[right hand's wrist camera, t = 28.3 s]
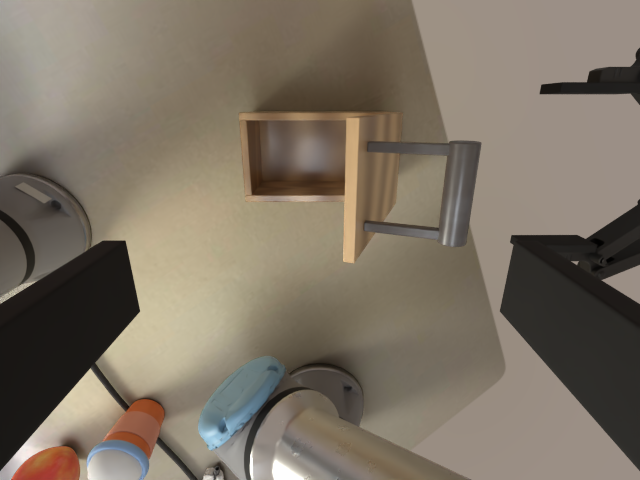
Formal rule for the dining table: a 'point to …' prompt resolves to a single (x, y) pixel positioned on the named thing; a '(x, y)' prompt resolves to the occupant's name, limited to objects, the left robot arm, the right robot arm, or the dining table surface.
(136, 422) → the cup with straw
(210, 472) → the toy gun
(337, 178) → the chest
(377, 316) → the dining table surface
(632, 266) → the left robot arm
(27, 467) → the apple
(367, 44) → the dining table surface
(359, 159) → the lid
